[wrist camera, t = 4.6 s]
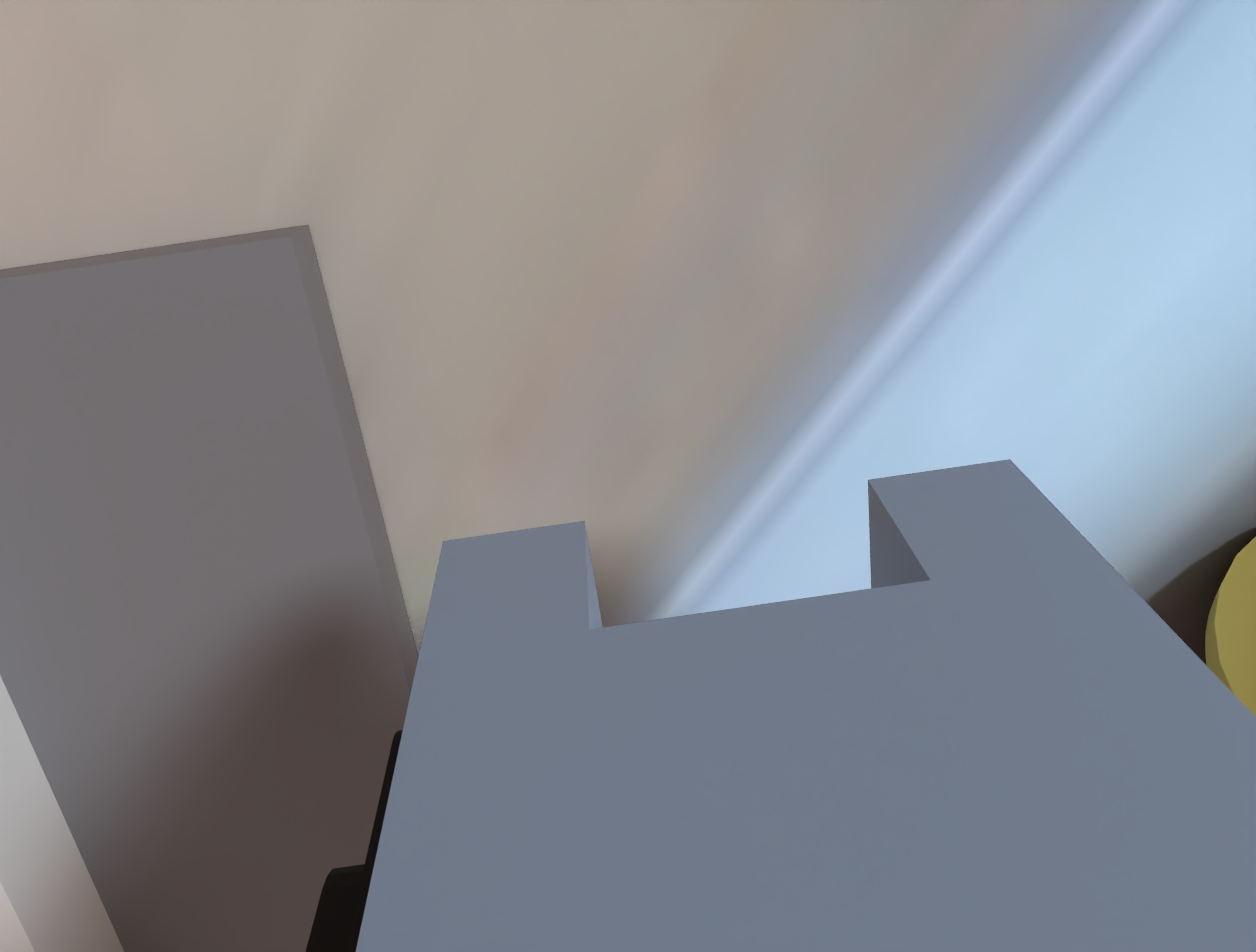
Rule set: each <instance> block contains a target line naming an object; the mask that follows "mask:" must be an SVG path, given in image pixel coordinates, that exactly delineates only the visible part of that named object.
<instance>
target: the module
mask: <svg viewBox="0 0 1256 952" xmlns="http://www.w3.org/2000/svg"><path fill="white" fill-rule="evenodd" d="M868 495H869V528H870V562H871V589H866V590H859V591H852V592H845V593H838V594H831V595H824V596H817V597H810V598H803V599H796V600H789V601H782V602H775V603H768V604H761V605H755V606H748V607H741V608H734V609H727V610H720V611H713V612H706V613H699V614H692V615H685V616H678V617H671V618H664V619H657V620H650V621H643V622H636V623H630V624H623V625H616V626H609V627H603V626H602V620H601V614H600V608H599V602H598V596H597V590H596V585H595V579H594V573H593V567H592V561H591V555H590V549H589V544H588V538H587V532H586V526H585V521H580V522H573V523H566V524H559V525H552V526H545V527H539V528H532V529H525V530H518V531H511V532H504V533H497V534H490V535H483V536H476V537H469V538H462V539H455V540H449V541H443V544H442V549H441V553H440V558H439V563H438V568H437V572H436V577H435V582H434V586H433V591H432V596H431V600H430V605H429V610H428V615H427V619H426V624H425V629H424V633H423V638H422V643H421V647H420V652H419V657H418V661H417V666H416V671H415V676H414V680H413V685H412V690H411V694H410V699H409V704H408V708H407V713H406V718H405V723H404V727H403V732H402V737H401V741H400V746H399V751H398V755H397V760H396V765H395V769H394V774H393V779H392V784H391V788H390V793H389V798H388V802H387V807H386V812H385V816H384V821H383V826H382V831H381V835H380V840H379V845H378V849H377V854H376V859H375V863H374V868H373V873H372V877H371V882H370V887H369V892H368V896H367V901H366V906H365V910H364V915H363V920H362V924H361V929H360V934H359V939H358V943H357V948H356V952H1256V717H1255V716H1254V715H1253V714H1252V713H1251V712H1250V711H1249V710H1248V709H1247V708H1246V707H1245V706H1244V704H1243V703H1242V702H1241V701H1240V700H1239V699H1238V698H1237V697H1236V696H1235V695H1234V694H1233V693H1232V692H1231V691H1230V690H1229V689H1228V688H1227V687H1226V686H1225V685H1224V684H1223V682H1222V681H1221V680H1220V679H1219V678H1218V677H1217V676H1216V675H1215V674H1214V673H1213V672H1212V671H1211V670H1210V669H1209V668H1208V667H1207V666H1206V665H1205V664H1204V663H1203V661H1202V660H1201V659H1200V658H1199V657H1198V656H1197V655H1196V654H1195V653H1194V652H1193V651H1192V650H1191V649H1190V648H1189V647H1188V646H1187V645H1186V644H1185V643H1184V642H1183V640H1182V639H1181V638H1180V637H1179V636H1178V635H1177V634H1176V633H1175V632H1174V631H1173V630H1172V629H1171V628H1170V627H1169V626H1168V625H1167V624H1166V623H1165V622H1164V621H1163V620H1162V618H1161V617H1160V616H1159V615H1158V614H1157V613H1156V612H1155V611H1154V610H1153V609H1152V608H1151V607H1150V606H1149V605H1148V604H1147V603H1146V602H1145V601H1144V600H1143V599H1142V597H1141V596H1140V595H1139V594H1138V593H1137V592H1136V591H1135V590H1134V589H1133V588H1132V587H1131V586H1130V585H1129V584H1128V583H1127V582H1126V581H1125V580H1124V579H1123V578H1122V576H1121V575H1120V574H1119V573H1118V572H1117V571H1116V570H1115V569H1114V568H1113V567H1112V566H1111V565H1110V564H1109V563H1108V562H1107V561H1106V560H1105V559H1104V558H1103V557H1102V555H1101V554H1100V553H1099V552H1098V551H1097V550H1096V549H1095V548H1094V547H1093V546H1092V545H1091V544H1090V543H1089V542H1088V541H1087V540H1086V539H1085V538H1084V537H1083V536H1082V535H1081V533H1080V532H1079V531H1078V530H1077V529H1076V528H1075V527H1074V526H1073V525H1072V524H1071V523H1070V522H1069V521H1068V520H1067V519H1066V518H1065V517H1064V516H1063V515H1062V514H1061V512H1060V511H1059V510H1058V509H1057V508H1056V507H1055V506H1054V505H1053V504H1052V503H1051V502H1050V501H1049V500H1048V499H1047V498H1046V497H1045V496H1044V495H1043V494H1042V493H1041V491H1040V490H1039V489H1038V488H1037V487H1036V486H1035V485H1034V484H1033V483H1032V482H1031V481H1030V480H1029V479H1028V478H1027V477H1026V476H1025V475H1024V474H1023V473H1022V472H1021V471H1020V469H1019V468H1018V467H1017V466H1016V465H1015V464H1014V463H1013V462H1012V461H1011V460H1010V459H1009V460H1003V461H996V462H989V463H982V464H975V465H968V466H961V467H954V468H947V469H940V470H933V471H926V472H919V473H912V474H906V475H899V476H892V477H885V478H878V479H871V480H868Z"/></svg>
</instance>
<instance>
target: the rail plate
mask: <svg viewBox="0 0 1256 952" xmlns="http://www.w3.org/2000/svg"><path fill="white" fill-rule="evenodd" d="M417 661H418V654H417V650H416V646H415V642H414V638H413V634H412V630H411V626H410V622H409V618H408V615H407V611H406V607H405V603H404V599H403V595H402V591H401V587H400V583H399V579H398V575H397V571H396V567H395V563H394V559H393V556H392V552H391V548H390V544H389V540H388V536H387V532H386V528H385V524H384V520H383V516H382V512H381V508H380V504H379V500H378V496H377V493H376V489H375V485H374V481H373V477H372V473H371V469H370V465H369V461H368V457H367V453H366V449H365V445H364V441H363V437H362V434H361V430H360V426H359V422H358V418H357V414H356V410H355V406H354V402H353V398H352V394H351V390H350V386H349V382H348V378H347V374H346V371H345V367H344V363H343V359H342V355H341V351H340V347H339V343H338V339H337V335H336V331H335V327H334V323H333V319H332V315H331V312H330V308H329V304H328V300H327V296H326V292H325V288H324V284H323V280H322V276H321V272H320V268H319V264H318V260H317V256H316V252H315V249H314V245H313V241H312V237H311V233H310V229H309V225H304V226H297V227H290V228H283V229H276V230H269V231H263V232H256V233H249V234H242V235H235V236H228V237H221V238H215V239H208V240H201V241H194V242H187V243H180V244H173V245H167V246H160V247H153V248H146V249H139V250H132V251H125V252H119V253H112V254H105V255H98V256H91V257H84V258H78V259H71V260H64V261H57V262H50V263H43V264H36V265H30V266H23V267H16V268H9V269H2V270H0V952H306V948H307V944H308V940H309V937H310V933H311V929H312V925H313V922H314V918H315V914H316V910H317V906H318V903H319V899H320V895H321V891H322V888H323V885H324V883H325V880H326V877H327V875H328V874H329V873H330V872H331V870H332V869H333V868H340V867H347V866H354V865H361V864H365V861H366V856H367V852H368V847H369V843H370V838H371V834H372V830H373V825H374V821H375V816H376V812H377V807H378V803H379V798H380V794H381V790H382V785H383V781H384V776H385V772H386V767H387V763H388V758H389V754H390V750H391V745H392V741H393V738H394V735H395V733H396V732H397V731H399V730H403V727H404V723H405V718H406V713H407V708H408V704H409V699H410V694H411V690H412V685H413V680H414V676H415V671H416V666H417Z"/></svg>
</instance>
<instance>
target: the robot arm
mask: <svg viewBox="0 0 1256 952" xmlns="http://www.w3.org/2000/svg"><path fill="white" fill-rule="evenodd" d="M402 732H403V730H399V731H397V732H396V733H395V735H394V738H393V741H392V745H391V750H390V754H389V758H388V763H387V767H386V772H385V776H384V781H383V785H382V790H381V794H380V798H379V803H378V807H377V812H376V816H375V821H374V825H373V830H372V834H371V838H370V843H369V847H368V852H367V856H366V861H365V864H361V865H354V866H347V867H340V868H333V869H332V870H331V872H330V873H329V874H328V875H327V877H326V880H325V883H324V885H323V888H322V891H321V895H320V899H319V903H318V906H317V910H316V914H315V918H314V922H313V925H312V929H311V933H310V937H309V940H308V944H307V948H306V952H356V948H357V943H358V939H359V934H360V929H361V924H362V920H363V915H364V910H365V906H366V901H367V896H368V892H369V887H370V882H371V877H372V873H373V868H374V863H375V859H376V854H377V849H378V845H379V840H380V835H381V831H382V826H383V821H384V816H385V812H386V807H387V802H388V798H389V793H390V788H391V784H392V779H393V774H394V769H395V765H396V760H397V755H398V751H399V746H400V741H401V737H402Z"/></svg>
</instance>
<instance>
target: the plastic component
mask: <svg viewBox="0 0 1256 952" xmlns="http://www.w3.org/2000/svg"><path fill="white" fill-rule="evenodd" d="M1205 655H1206V665H1207V667H1208V668H1209V669H1210V670H1211V671H1212V672H1213V673H1214V674H1215V675H1216V676H1217V677H1218V678H1219V679H1220V680H1221V681H1222V682H1223V684H1224V685H1225V686H1226V687H1227V688H1228V689H1229V690H1230V691H1231V692H1232V693H1233V694H1234V695H1235V696H1236V697H1237V698H1238V699H1239V700H1240V701H1241V702H1242V703H1243V704H1244V706H1245V707H1246V708H1247V709H1248V710H1249V711H1250V712H1251V713H1252V714H1253V715H1254V716H1255V717H1256V537H1255V538H1254V539H1253V540H1252V541H1251V542H1249V543H1248V544H1247V545H1246V546H1245V547H1244V548H1243V549H1242V550H1241V551H1240V552H1239V553H1238V554H1237V555H1236V557H1235V559H1234V561H1233V563H1232V565H1231V567H1230V568H1229V570H1228V572H1227V574H1226V576H1225V578H1224V580H1223V582H1222V584H1221V586H1220V588H1219V590H1218V592H1217V594H1216V596H1215V598H1214V601H1213V604H1212V607H1211V610H1210V613H1209V616H1208V622H1207V628H1206V634H1205Z"/></svg>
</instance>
